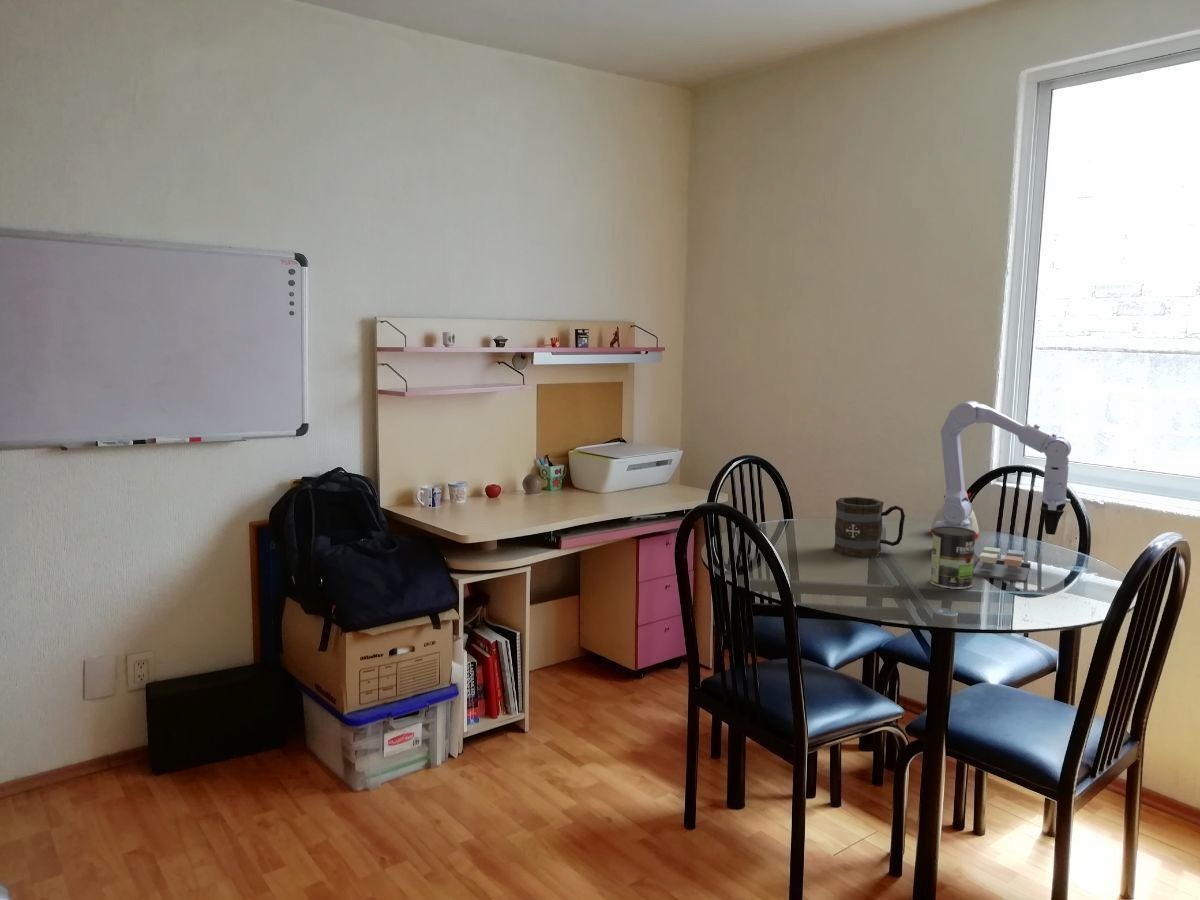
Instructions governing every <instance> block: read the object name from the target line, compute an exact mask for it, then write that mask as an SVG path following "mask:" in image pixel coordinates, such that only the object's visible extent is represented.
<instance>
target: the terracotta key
mask: <svg viewBox="0 0 1200 900" xmlns="http://www.w3.org/2000/svg"><path fill="white" fill-rule="evenodd" d="M1003 559H1004V565H1007V570H1008V571H1016V572H1017V571H1018V567H1021V565H1022V562H1023V561H1022V557H1015V556H1007V554H1006V555H1005V557H1004V558H1003Z"/></svg>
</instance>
